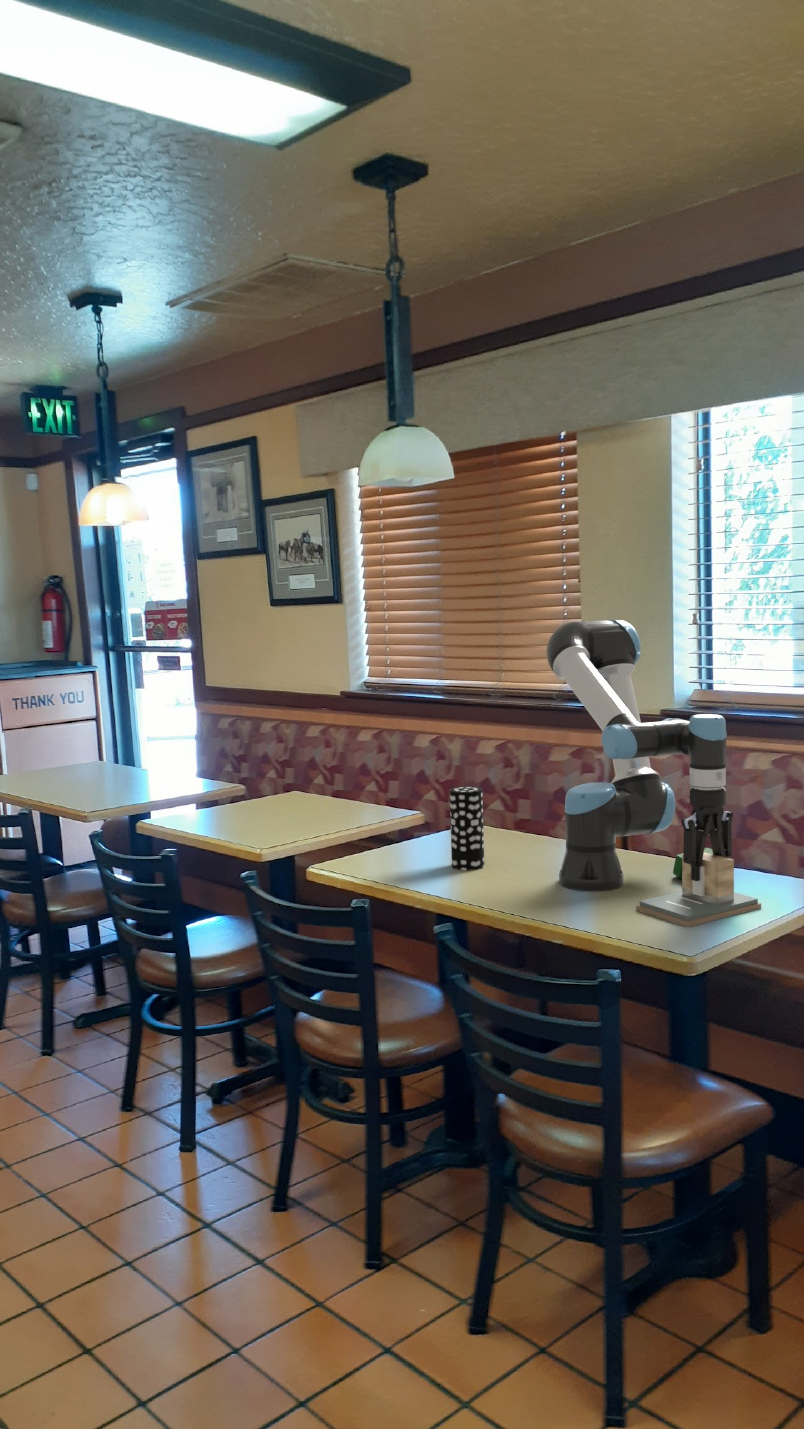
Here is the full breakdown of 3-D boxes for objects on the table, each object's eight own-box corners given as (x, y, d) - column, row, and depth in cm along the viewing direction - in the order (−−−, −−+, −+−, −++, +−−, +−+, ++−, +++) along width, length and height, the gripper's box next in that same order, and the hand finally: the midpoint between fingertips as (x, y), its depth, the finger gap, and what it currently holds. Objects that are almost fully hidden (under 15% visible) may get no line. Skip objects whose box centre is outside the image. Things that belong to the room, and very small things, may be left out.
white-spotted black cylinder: (479, 871, 268) (477, 792, 266) (447, 869, 271) (445, 791, 269) (487, 863, 276) (486, 786, 274) (456, 861, 279) (454, 786, 277)
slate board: (636, 910, 232) (636, 901, 232) (707, 892, 243) (707, 884, 243) (688, 927, 219) (688, 917, 219) (761, 907, 230) (761, 898, 230)
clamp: (693, 898, 254) (689, 869, 250) (675, 887, 259) (671, 858, 255) (728, 872, 259) (725, 843, 254) (709, 862, 264) (706, 833, 259)
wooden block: (682, 894, 235) (682, 854, 234) (698, 890, 238) (698, 850, 237) (717, 904, 227) (717, 863, 226) (733, 900, 230) (733, 859, 229)
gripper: (691, 794, 222) (691, 903, 224) (750, 784, 231) (749, 889, 234) (664, 789, 228) (665, 895, 231) (723, 779, 238) (722, 881, 240)
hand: (707, 892), depth 232 cm, fingers closed on wooden block, 5 cm apart
